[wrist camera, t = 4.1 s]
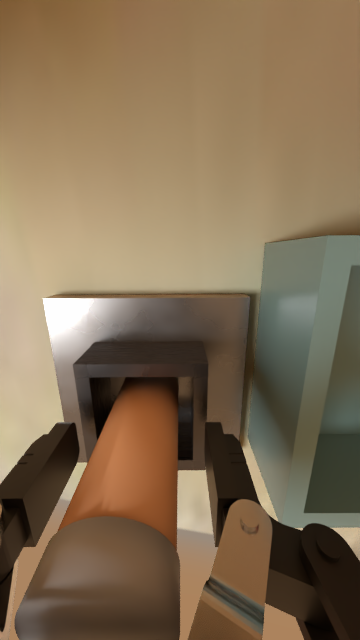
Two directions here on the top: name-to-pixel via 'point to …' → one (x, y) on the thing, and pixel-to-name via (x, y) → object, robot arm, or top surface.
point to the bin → (309, 381)
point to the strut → (116, 532)
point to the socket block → (151, 359)
